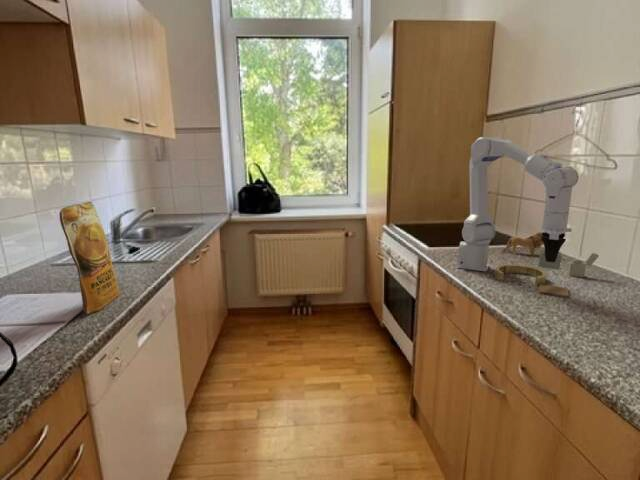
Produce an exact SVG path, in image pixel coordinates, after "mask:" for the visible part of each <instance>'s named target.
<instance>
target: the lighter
mask: <svg viewBox="0 0 640 480" xmlns="http://www.w3.org/2000/svg"><path fill="white" fill-rule="evenodd" d="M598 258H599V254H598V253H596V252H592V253H591V254H590V255H589V257H588V258H587V260H585V262H583V260H582V259H574V260H572V261H569V265H568V272H567V275H568V276H569V277H575V278H576V277H577V278H584V277H585V274H586V267H587V266H589V267H591V266H592V265H593V264H594V263H595V261H596V260H597V259H598Z"/></svg>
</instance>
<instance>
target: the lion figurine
mask: <svg viewBox="0 0 640 480" xmlns="http://www.w3.org/2000/svg"><path fill="white" fill-rule="evenodd" d="M541 237H542V232H541V231H540V232H537V233H535V234H534V235H531V236H529V237H526V238H525V237H521V236H517V235H516V236H515V235H514V236H512V237H510V239H508V241H507V244H506V247H504V249H502V252H506V251H507V252H511V250H512V252H513V254H514V255H518V252H517V251H516V249H517V247H518V246H520V247H522V248H528V249H529V251H528V253H529V255H531V256H532V257H535V256H536V254H534V253H535V251H536V249H539V248H541V247H542V246H544V243H543V241H542V238H541ZM511 248H512V249H511ZM510 249H511V250H510Z"/></svg>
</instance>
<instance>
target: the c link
mask: <svg viewBox="0 0 640 480" xmlns="http://www.w3.org/2000/svg"><path fill="white" fill-rule="evenodd" d="M538 259H539V260H538V266H537V267H538V268H543V269H549V270H557V271H559V270H560V267H561V262H562V252H560V251H559V252H558V255H557V258H556V261H555V262H547V261H546V258H545V250H542V249H541V250H540V251H539V257H538Z"/></svg>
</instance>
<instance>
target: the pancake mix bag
mask: <svg viewBox="0 0 640 480" xmlns="http://www.w3.org/2000/svg"><path fill="white" fill-rule="evenodd" d="M59 223H60V226H61V228H62V231H63V235H65V239H66V243H67V247H68V251H69V254H70V256H71V258H72V260H73V262H74V264H75V267H76V270H77V273H78V274H77V275H78V278H79V280H78V281H79V287H80V289H79V290H80V295H81V301H82V309H83V313H84V314H86V315H89V314H92V313H95V312H99V311H100V310H102V309H104V308H106V307H107V306H108V305H110V304H111V303H112V302H113V301H114V300H116V299H117V298H118V297H120V295H121V292H120V288H119V285H118V281H117V278H116V274H115V270H114V266H113V262H112V256H111V252H110V247H109V244H108V240H107V237H106V233H105V230H104V227H103V225H102V222H101V220H100V217H99V215H98V213H97V210H96V208H95V205H94V204H93V202H92V201H87V202H83V203H78V204H73V205H68V206H65V207H63V208H61V210H60V211H59Z"/></svg>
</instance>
